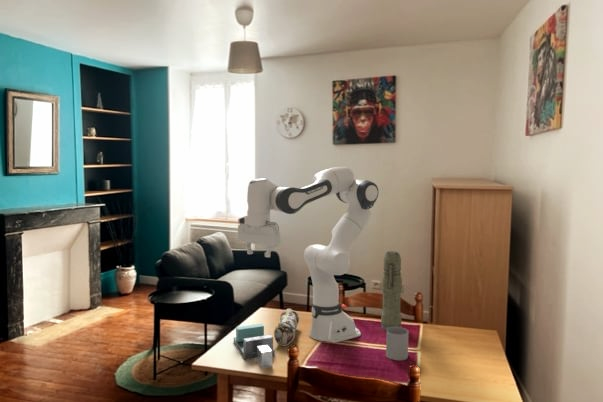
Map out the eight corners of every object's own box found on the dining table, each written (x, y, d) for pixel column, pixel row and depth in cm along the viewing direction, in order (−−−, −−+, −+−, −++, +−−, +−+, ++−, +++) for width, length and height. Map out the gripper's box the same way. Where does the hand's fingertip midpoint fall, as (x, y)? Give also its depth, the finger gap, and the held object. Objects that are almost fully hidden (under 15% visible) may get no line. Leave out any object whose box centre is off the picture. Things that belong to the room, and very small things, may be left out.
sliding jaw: (261, 335, 184) (261, 323, 184) (263, 337, 182) (263, 326, 181) (236, 339, 180) (236, 327, 180) (237, 341, 178) (237, 329, 177)
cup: (395, 361, 165) (395, 336, 164) (381, 353, 172) (382, 328, 171) (412, 357, 169) (413, 332, 168) (398, 349, 176) (398, 325, 175)
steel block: (267, 360, 166) (267, 344, 166) (272, 366, 161) (272, 351, 160) (257, 361, 165) (257, 346, 164) (261, 368, 159) (261, 352, 159)
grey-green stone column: (401, 324, 204) (402, 250, 201) (401, 334, 192) (402, 255, 189) (381, 323, 206) (383, 249, 203) (380, 332, 194) (381, 254, 191)
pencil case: (294, 347, 178) (294, 324, 177) (273, 346, 179) (273, 323, 178) (299, 327, 200) (299, 306, 199) (280, 327, 201) (280, 306, 200)
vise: (261, 338, 187) (261, 322, 187) (274, 355, 171) (274, 337, 170) (233, 342, 183) (233, 326, 182) (244, 360, 166) (244, 342, 166)
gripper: (284, 221, 166) (284, 257, 167) (246, 217, 179) (246, 251, 180) (272, 223, 161) (272, 260, 162) (234, 218, 174) (235, 253, 175)
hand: (258, 255), depth 171 cm, fingers open, 8 cm apart
